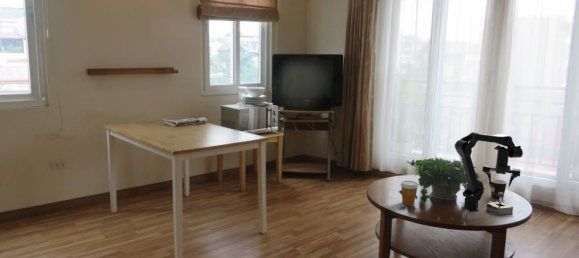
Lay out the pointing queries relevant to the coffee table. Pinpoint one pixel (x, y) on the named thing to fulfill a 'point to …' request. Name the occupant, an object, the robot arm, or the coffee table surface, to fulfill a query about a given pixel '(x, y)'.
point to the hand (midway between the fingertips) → (499, 185)
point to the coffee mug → (497, 188)
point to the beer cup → (409, 192)
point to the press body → (499, 208)
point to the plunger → (500, 197)
